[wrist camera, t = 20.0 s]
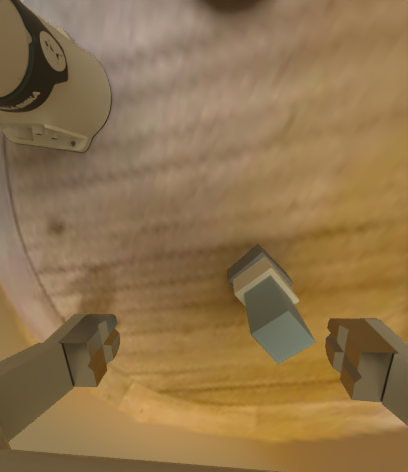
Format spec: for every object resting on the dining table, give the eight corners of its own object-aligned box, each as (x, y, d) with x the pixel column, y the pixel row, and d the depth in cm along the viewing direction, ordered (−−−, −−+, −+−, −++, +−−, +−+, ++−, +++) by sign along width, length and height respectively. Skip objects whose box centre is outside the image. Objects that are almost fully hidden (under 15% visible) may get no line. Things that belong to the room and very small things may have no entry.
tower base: (254, 296, 43) (258, 310, 38) (227, 269, 42) (228, 280, 37) (285, 272, 41) (293, 283, 36) (257, 243, 40) (262, 251, 35)
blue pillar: (263, 316, 33) (278, 364, 24) (243, 293, 32) (250, 334, 23) (290, 298, 31) (316, 342, 23) (270, 274, 31) (288, 310, 22)
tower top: (257, 307, 38) (262, 325, 33) (232, 279, 37) (234, 294, 32) (290, 285, 36) (299, 301, 31) (264, 256, 35) (271, 267, 31)
